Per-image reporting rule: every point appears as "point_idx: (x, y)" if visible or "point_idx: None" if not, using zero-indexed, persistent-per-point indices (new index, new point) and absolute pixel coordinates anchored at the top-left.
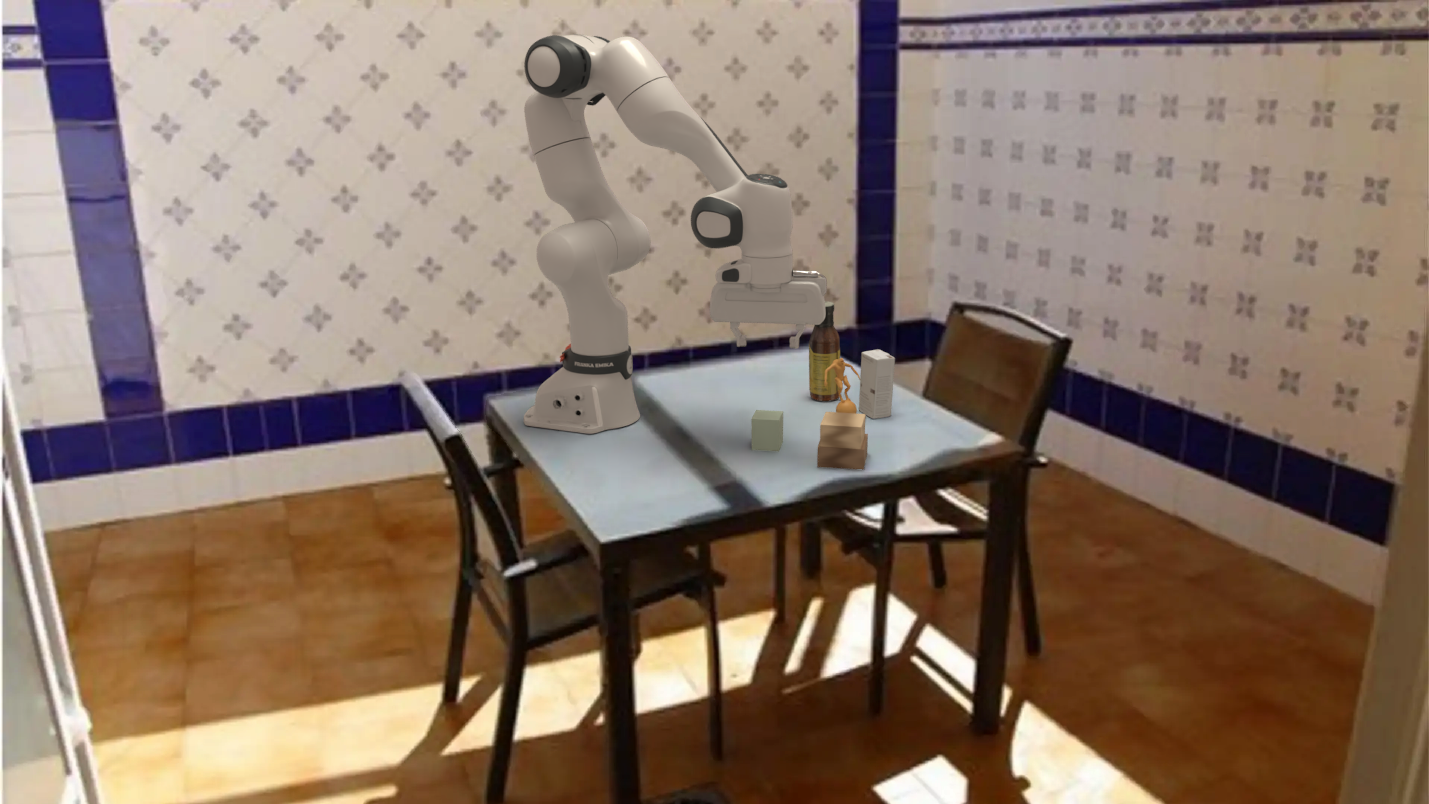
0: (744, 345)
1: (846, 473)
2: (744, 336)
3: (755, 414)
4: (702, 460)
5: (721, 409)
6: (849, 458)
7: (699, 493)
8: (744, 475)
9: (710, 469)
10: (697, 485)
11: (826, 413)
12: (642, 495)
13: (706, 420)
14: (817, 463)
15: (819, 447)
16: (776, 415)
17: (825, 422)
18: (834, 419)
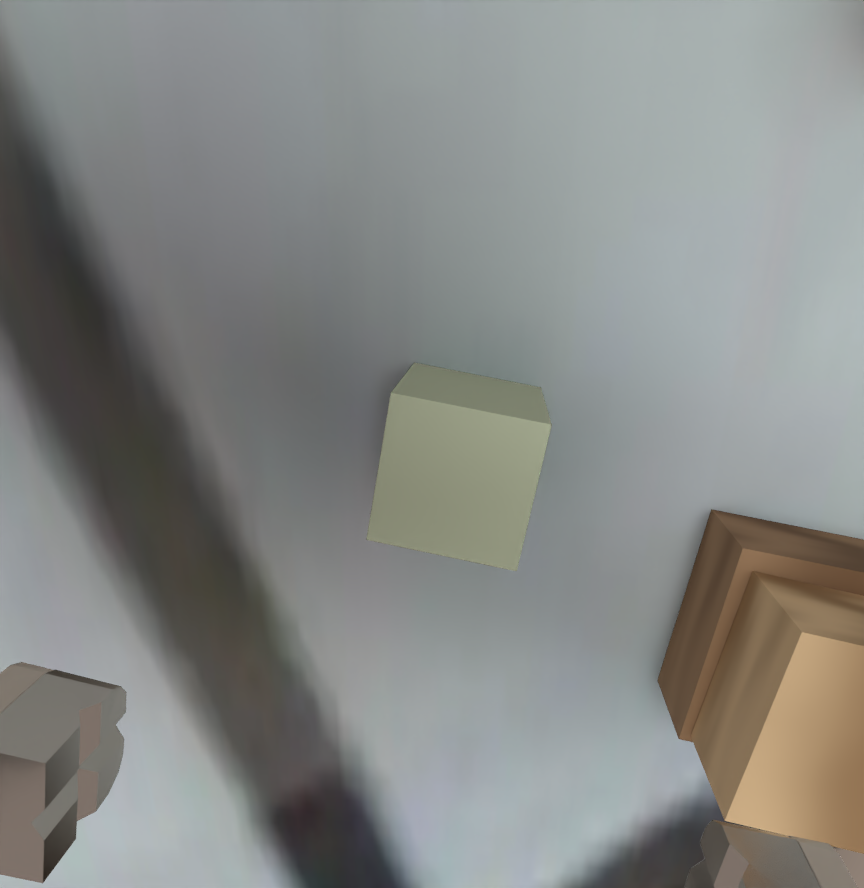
0: (105, 790)
1: None
2: (29, 818)
3: (387, 473)
4: (200, 582)
5: None
6: None
7: (227, 853)
8: (369, 731)
9: (241, 670)
10: (212, 796)
11: (798, 661)
12: None
13: (149, 43)
14: (661, 690)
15: (687, 740)
16: (506, 495)
17: (760, 793)
18: (823, 756)
